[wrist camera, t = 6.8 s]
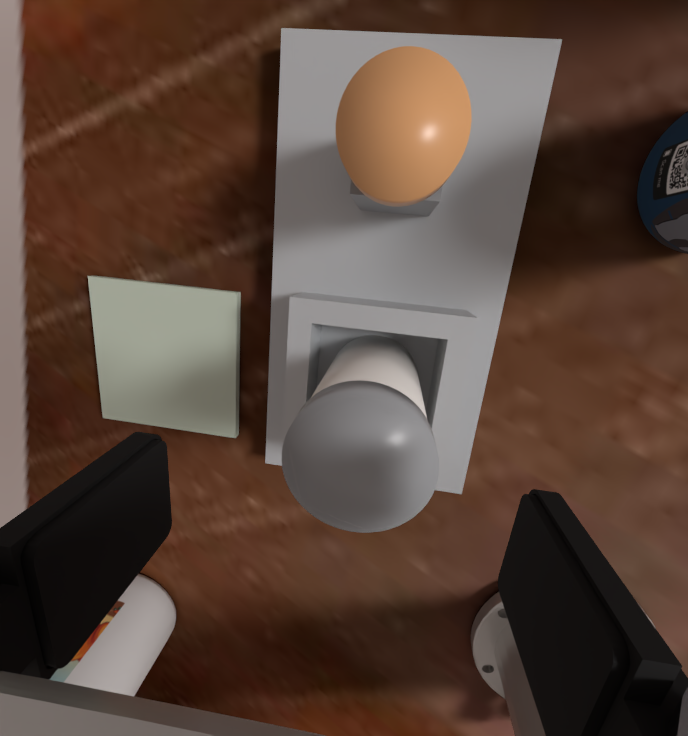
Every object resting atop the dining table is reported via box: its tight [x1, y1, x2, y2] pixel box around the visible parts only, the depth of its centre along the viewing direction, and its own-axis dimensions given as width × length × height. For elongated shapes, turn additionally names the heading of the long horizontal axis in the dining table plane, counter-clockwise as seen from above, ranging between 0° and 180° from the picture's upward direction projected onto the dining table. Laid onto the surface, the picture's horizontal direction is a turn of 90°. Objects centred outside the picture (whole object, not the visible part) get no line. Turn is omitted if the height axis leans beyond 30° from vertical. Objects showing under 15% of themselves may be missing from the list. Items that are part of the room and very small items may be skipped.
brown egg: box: [336, 46, 472, 207], centre depth 15 cm, size 4×4×6 cm
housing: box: [265, 28, 562, 494], centre depth 19 cm, size 24×13×6 cm, turn 174°
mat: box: [88, 276, 241, 438], centre depth 25 cm, size 10×10×1 cm
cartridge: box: [282, 335, 439, 532], centre depth 17 cm, size 5×5×10 cm
